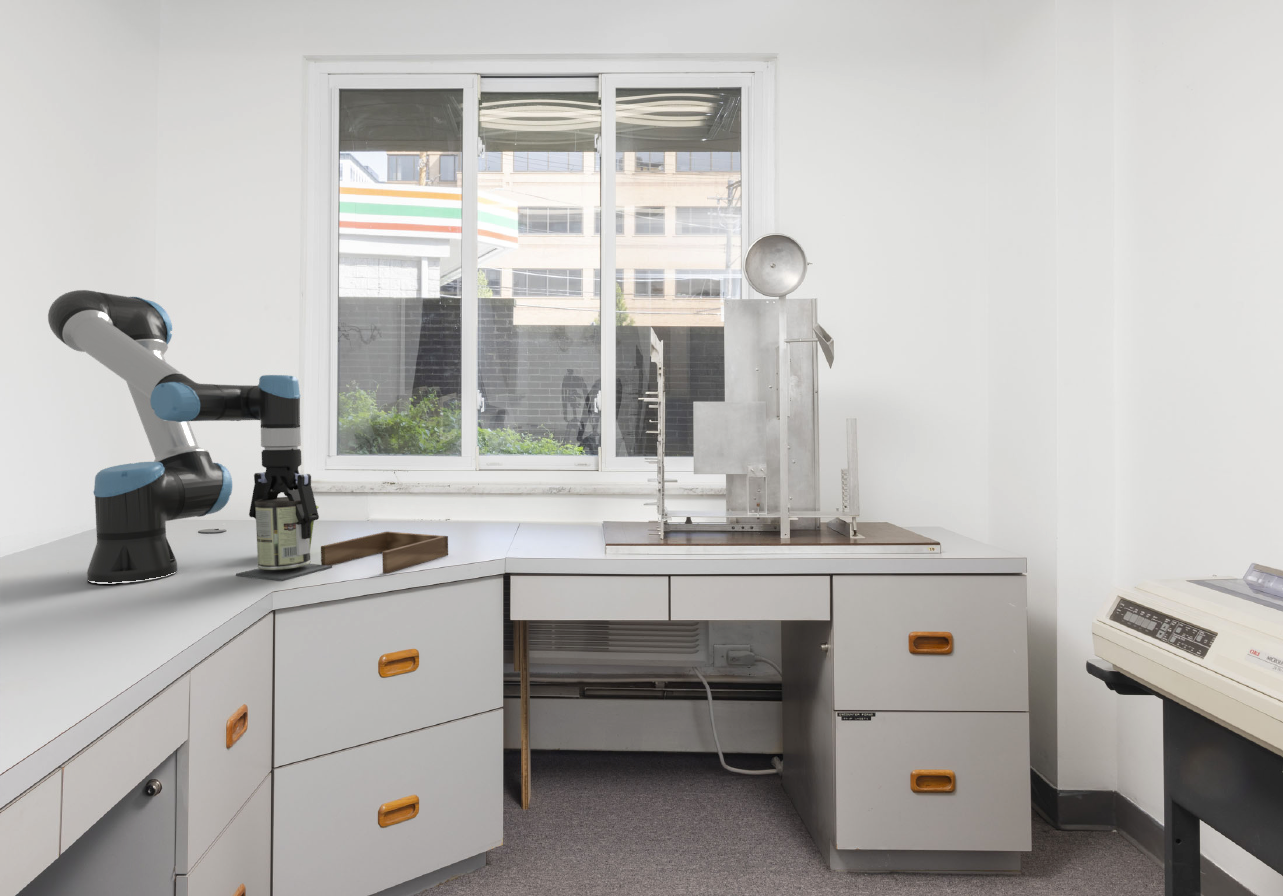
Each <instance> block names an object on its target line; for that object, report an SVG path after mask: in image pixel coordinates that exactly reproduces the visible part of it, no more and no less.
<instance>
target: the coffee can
mask: <svg viewBox="0 0 1283 896" xmlns="http://www.w3.org/2000/svg"><path fill="white" fill-rule="evenodd" d="M296 504H301V500H297V501H289V499H288V497H287V496H279V497H277V499H273V500H262V499H261V500H257V501H255V507H256V519H255V524H256V525H255V527H256V529H255V530H256V552H257V553H256V554H257V569H258V568H259V569H264V570H281V569H290V568H296V567H301V566H305V565H307V564H312V560H311V552H310V553H307V554H303V555H297V547H296V524H297V522H298V519H297V517H296V507H295V505H296ZM303 517H305V516H303ZM309 539H310V538H309Z"/></svg>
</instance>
